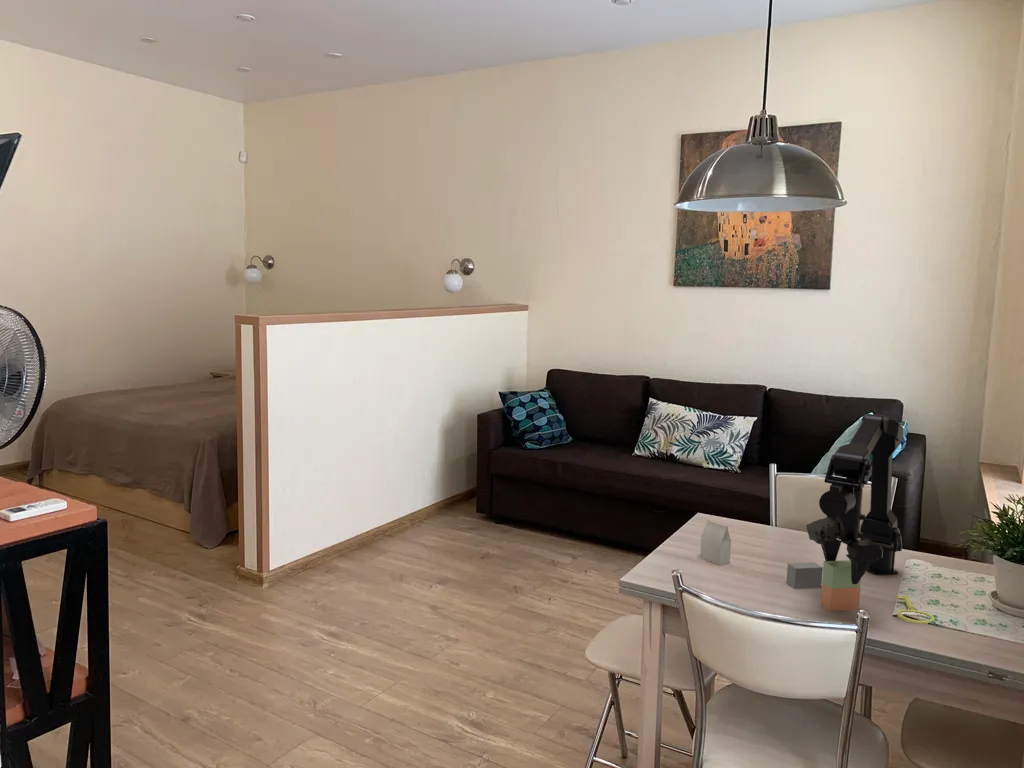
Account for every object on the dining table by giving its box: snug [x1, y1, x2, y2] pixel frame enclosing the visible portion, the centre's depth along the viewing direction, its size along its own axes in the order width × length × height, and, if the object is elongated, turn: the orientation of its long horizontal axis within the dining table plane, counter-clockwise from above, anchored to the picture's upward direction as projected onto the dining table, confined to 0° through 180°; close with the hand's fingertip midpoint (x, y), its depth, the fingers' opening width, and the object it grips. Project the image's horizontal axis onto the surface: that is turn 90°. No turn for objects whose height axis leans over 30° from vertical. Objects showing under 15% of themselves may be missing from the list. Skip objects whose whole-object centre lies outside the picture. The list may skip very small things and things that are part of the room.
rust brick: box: [820, 583, 861, 612], centre depth 172 cm, size 7×4×5 cm, turn 100°
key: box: [895, 594, 936, 625], centre depth 169 cm, size 7×12×2 cm, turn 3°
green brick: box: [822, 559, 862, 589], centre depth 171 cm, size 7×4×5 cm, turn 100°
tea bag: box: [699, 519, 732, 566], centre depth 200 cm, size 4×7×10 cm, turn 32°
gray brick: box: [786, 561, 823, 589], centre depth 184 cm, size 7×4×5 cm, turn 100°
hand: (841, 576), depth 171 cm, fingers open, 9 cm apart
